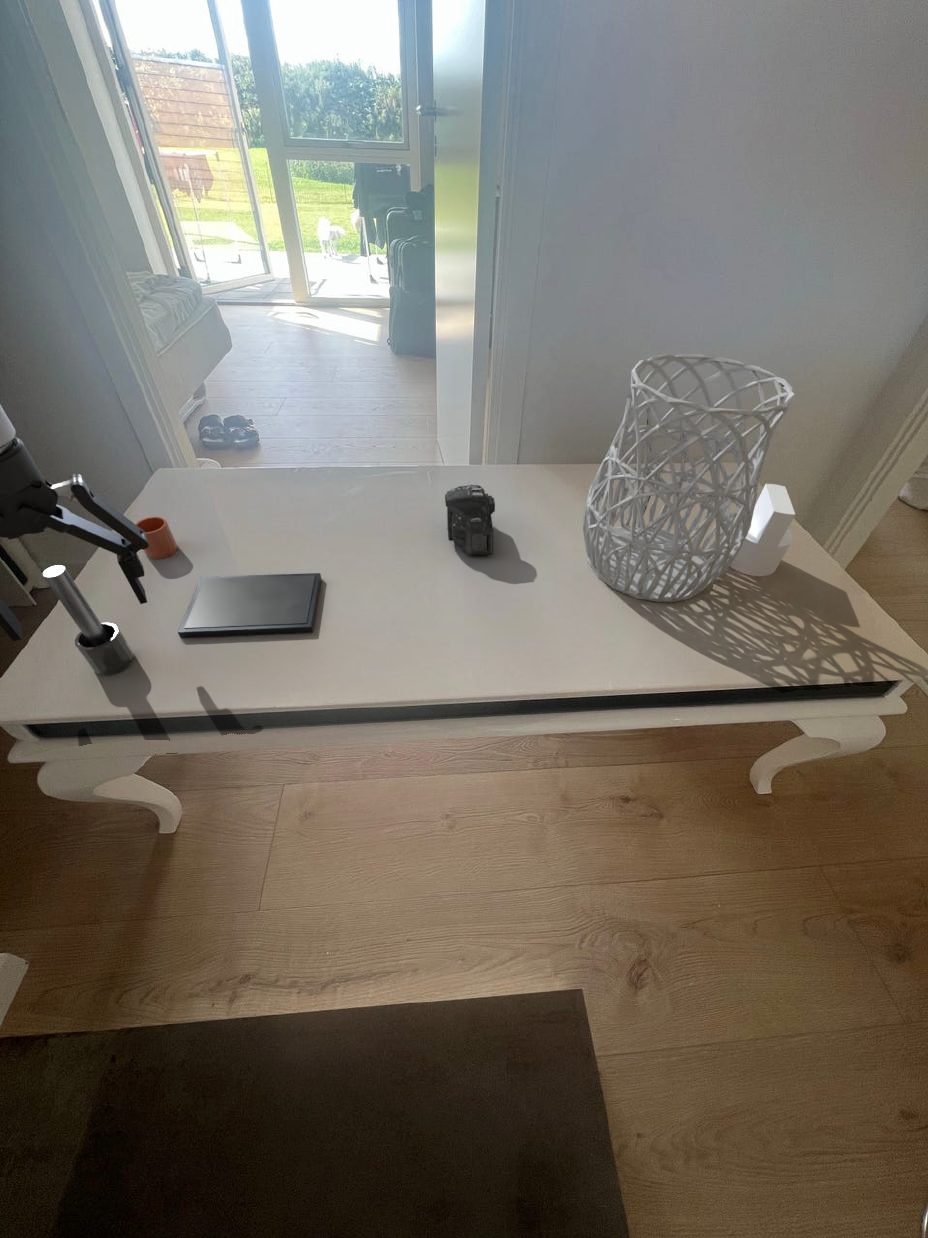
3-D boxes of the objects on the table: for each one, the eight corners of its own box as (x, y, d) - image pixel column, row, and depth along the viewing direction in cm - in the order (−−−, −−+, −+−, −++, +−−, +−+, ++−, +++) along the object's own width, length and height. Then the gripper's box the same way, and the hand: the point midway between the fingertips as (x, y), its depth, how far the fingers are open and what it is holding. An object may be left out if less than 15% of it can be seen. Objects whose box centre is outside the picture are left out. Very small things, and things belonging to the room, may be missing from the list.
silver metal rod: (103, 668, 68) (42, 579, 57) (102, 657, 69) (42, 568, 59) (122, 662, 69) (65, 573, 58) (121, 651, 70) (64, 562, 59)
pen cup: (147, 562, 84) (135, 536, 81) (144, 546, 87) (131, 521, 84) (179, 553, 86) (168, 528, 82) (174, 538, 89) (164, 513, 85)
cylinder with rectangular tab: (718, 540, 93) (745, 480, 85) (771, 549, 92) (805, 488, 84) (723, 570, 87) (753, 508, 79) (780, 580, 86) (817, 518, 77)
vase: (636, 630, 76) (710, 431, 55) (547, 540, 92) (579, 359, 71) (754, 587, 84) (858, 399, 63) (655, 511, 100) (711, 340, 79)
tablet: (180, 638, 72) (177, 631, 72) (203, 582, 81) (200, 576, 80) (312, 632, 74) (311, 626, 73) (321, 578, 83) (320, 572, 82)
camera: (428, 524, 94) (427, 474, 87) (478, 513, 97) (481, 464, 90) (459, 567, 86) (461, 515, 79) (512, 553, 89) (518, 502, 82)
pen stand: (94, 681, 67) (75, 654, 63) (92, 656, 70) (73, 630, 66) (136, 667, 68) (119, 641, 65) (132, 643, 71) (116, 617, 68)
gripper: (116, 407, 55) (185, 567, 70) (-198, 458, 46) (-40, 629, 61) (123, 436, 50) (196, 600, 65) (-223, 498, 41) (-46, 673, 56)
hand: (82, 614), depth 63 cm, fingers open, 12 cm apart
